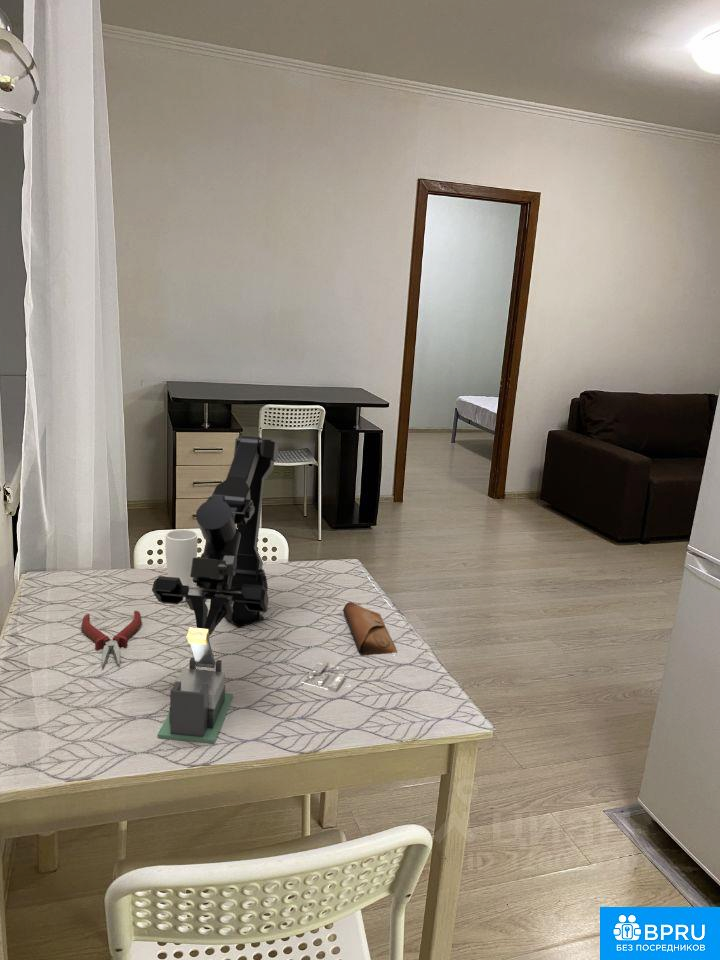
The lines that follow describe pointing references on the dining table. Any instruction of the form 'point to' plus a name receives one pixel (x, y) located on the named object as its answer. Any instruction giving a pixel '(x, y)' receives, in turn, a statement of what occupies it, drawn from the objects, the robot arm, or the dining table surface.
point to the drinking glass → (181, 555)
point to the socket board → (192, 713)
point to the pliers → (104, 641)
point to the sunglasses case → (368, 630)
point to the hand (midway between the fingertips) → (201, 643)
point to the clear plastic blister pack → (335, 682)
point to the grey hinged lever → (201, 647)
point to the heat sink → (216, 681)
